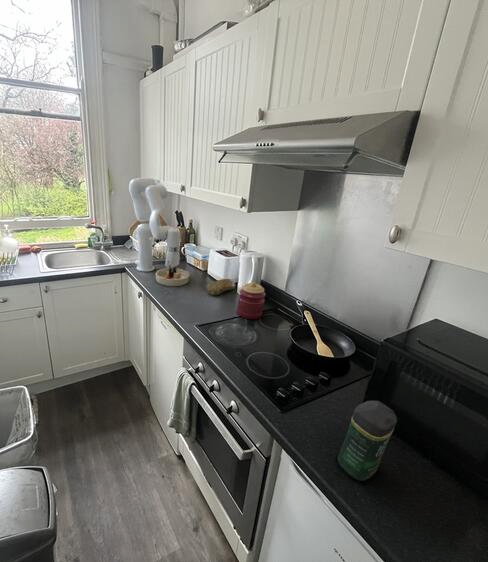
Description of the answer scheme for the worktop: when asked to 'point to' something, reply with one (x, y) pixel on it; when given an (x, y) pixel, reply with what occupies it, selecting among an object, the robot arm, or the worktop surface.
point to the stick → (176, 275)
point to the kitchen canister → (251, 301)
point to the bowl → (172, 282)
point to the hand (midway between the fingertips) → (172, 276)
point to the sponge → (220, 286)
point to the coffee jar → (366, 439)
